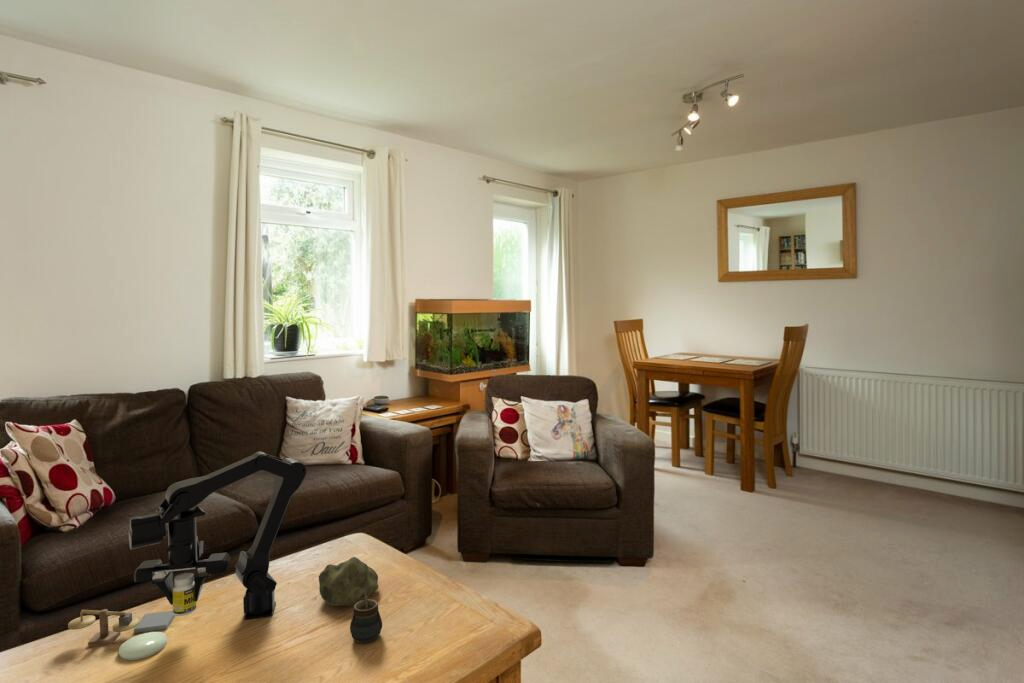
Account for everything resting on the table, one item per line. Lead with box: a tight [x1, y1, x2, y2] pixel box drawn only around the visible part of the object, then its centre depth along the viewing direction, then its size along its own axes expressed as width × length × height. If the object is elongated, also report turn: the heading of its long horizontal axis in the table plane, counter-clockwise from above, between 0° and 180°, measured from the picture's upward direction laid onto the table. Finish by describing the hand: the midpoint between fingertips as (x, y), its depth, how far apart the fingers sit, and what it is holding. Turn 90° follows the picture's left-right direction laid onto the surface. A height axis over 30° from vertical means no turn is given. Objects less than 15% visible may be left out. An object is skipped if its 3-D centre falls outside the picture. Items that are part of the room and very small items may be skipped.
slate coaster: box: [133, 609, 176, 634], centre depth 137 cm, size 7×7×1 cm
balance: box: [67, 608, 139, 648], centre depth 130 cm, size 14×5×8 cm, turn 105°
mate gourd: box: [349, 589, 383, 644], centre depth 131 cm, size 7×8×10 cm
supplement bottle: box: [172, 572, 197, 617], centre depth 131 cm, size 5×5×8 cm
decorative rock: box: [318, 556, 379, 607], centre depth 150 cm, size 15×16×10 cm
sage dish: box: [118, 631, 168, 661], centre depth 127 cm, size 9×9×1 cm
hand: (184, 602), depth 132 cm, fingers closed on supplement bottle, 5 cm apart
